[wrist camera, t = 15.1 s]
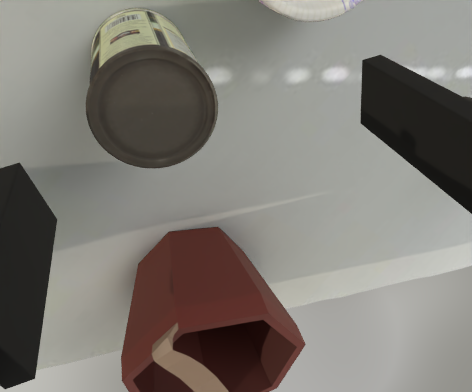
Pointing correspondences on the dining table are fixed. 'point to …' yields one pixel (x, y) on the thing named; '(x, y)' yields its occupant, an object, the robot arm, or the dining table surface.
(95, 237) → the dining table surface
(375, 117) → the robot arm
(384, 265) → the dining table surface
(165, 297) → the bucket
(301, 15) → the paper bowls
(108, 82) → the coffee can
